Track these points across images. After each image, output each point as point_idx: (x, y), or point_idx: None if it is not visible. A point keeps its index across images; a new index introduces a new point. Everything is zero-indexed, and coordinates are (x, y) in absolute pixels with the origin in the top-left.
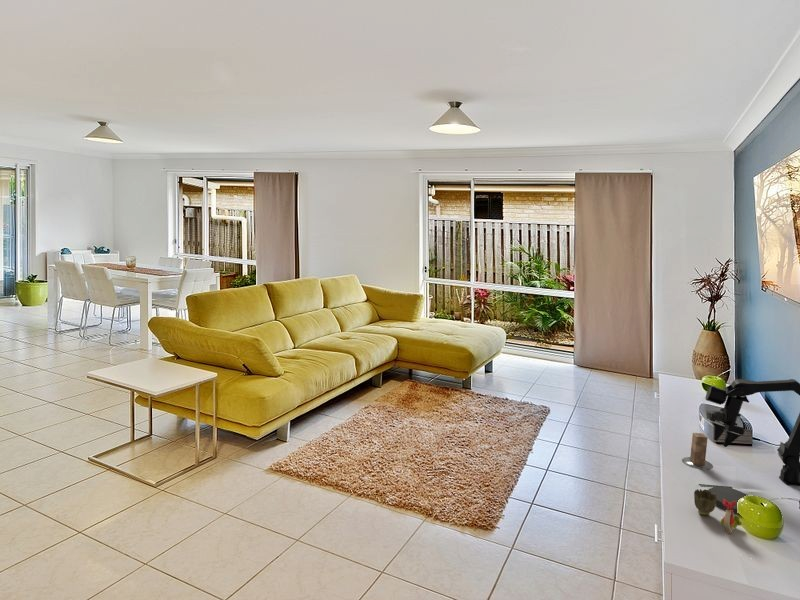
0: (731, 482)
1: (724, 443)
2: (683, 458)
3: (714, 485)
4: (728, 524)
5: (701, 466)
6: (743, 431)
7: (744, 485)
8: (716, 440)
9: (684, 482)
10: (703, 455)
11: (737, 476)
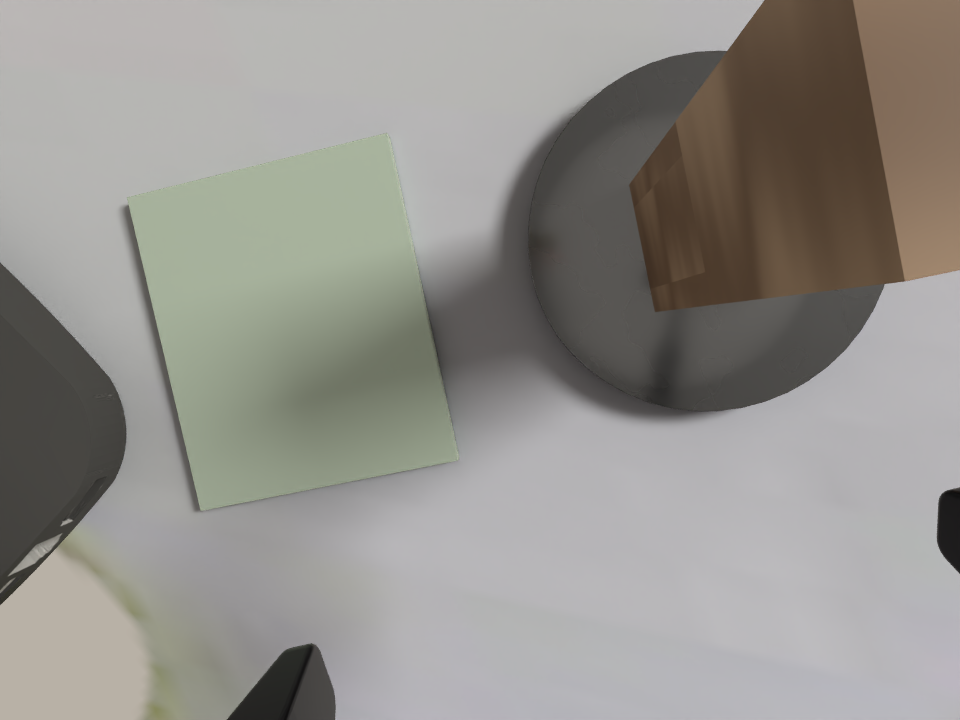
0: (367, 531)
1: (235, 716)
2: None
3: (181, 340)
4: None
5: (619, 271)
6: None
7: (347, 643)
8: (941, 550)
9: (164, 48)
10: (690, 273)
11: (553, 628)
